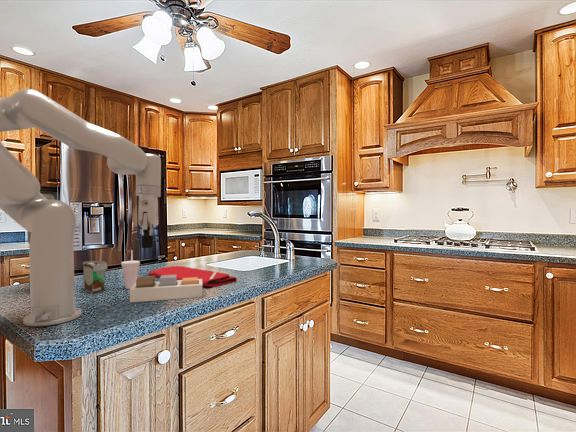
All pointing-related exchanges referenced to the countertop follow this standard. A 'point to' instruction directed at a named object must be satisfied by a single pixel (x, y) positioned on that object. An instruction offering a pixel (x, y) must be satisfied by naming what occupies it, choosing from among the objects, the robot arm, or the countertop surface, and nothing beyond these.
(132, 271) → the smoothie
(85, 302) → the countertop surface
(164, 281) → the grey key
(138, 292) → the keypad
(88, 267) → the food container
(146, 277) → the walnut key
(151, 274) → the red folded towel
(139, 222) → the robot arm
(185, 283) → the orange key
